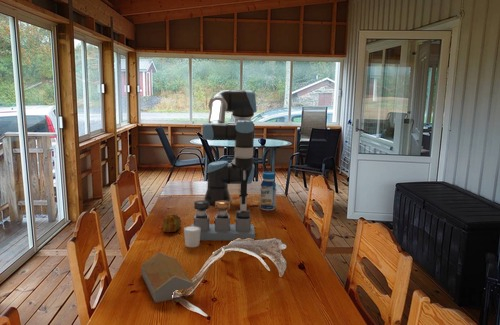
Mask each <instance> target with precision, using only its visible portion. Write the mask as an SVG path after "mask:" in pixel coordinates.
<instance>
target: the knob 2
mask: <svg viewBox="0 0 500 325" xmlns="http://www.w3.org/2000/svg"><path fill="white" fill-rule="evenodd" d="M251 214H252V213H251V210H250V209H247V208H246V211H240V209H236V210H235V218H236V217H237V218H241V219H246V218H250V217H251Z"/></svg>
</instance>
